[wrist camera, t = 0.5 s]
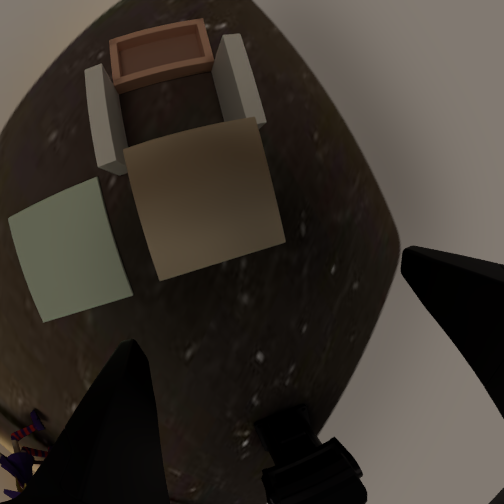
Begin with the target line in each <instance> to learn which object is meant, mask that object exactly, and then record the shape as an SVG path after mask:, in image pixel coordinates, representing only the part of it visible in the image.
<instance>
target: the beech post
mask: <svg viewBox="0 0 504 504" xmlns="http://www.w3.org/2000/svg"><path fill="white" fill-rule="evenodd" d="M123 153H124V158H125V162H126V167H127V171H128V175H129V180H130V184H131V188H132V192H133V196H134V199H135V203H136V207H137V210H138V214H139V218H140V221H141V225H142V228H143V231H144V235H145V238H146V241H147V244H148V248H149V251H150V254H151V257H152V260H153V263H154V266H155V269H156V272H157V275H158V278H159V281H162V280H166V279H169V278H172V277H175V276H178V275H182V274H185V273H188V272H191V271H195V270H198V269H201V268H204V267H208V266H211V265H214V264H217V263H221V262H224V261H227V260H230V259H233V258H237V257H240V256H243V255H246V254H250V253H253V252H256V251H259V250H263V249H266V248H269V247H272V246H275V245H279V244H282V243H285V242H286V240H285V236H284V231H283V227H282V223H281V218H280V214H279V210H278V205H277V201H276V197H275V193H274V188H273V184H272V180H271V176H270V172H269V168H268V164H267V160H266V156H265V152H264V148H263V145H262V141H261V137H260V133H259V129H258V126H257V122H256V118H255V117H249V118H243V119H237V120H232V121H227V122H222V123H217V124H212V125H208V126H203V127H199V128H195V129H191V130H186V131H183V132H179V133H175V134H171V135H168V136H164V137H161V138H157V139H154V140H150V141H147V142H144V143H141V144H138V145H135V146H132V147H129V148H126V149H123Z"/></svg>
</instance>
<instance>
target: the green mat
mask: <svg viewBox="0 0 504 504" xmlns="http://www.w3.org/2000/svg"><path fill="white" fill-rule="evenodd" d="M8 221H9V225H10V229H11V233H12V237H13V241H14V244H15V248H16V251H17V255H18V258H19V261H20V264H21V267H22V270H23V273H24V276H25V279H26V282H27V284H28V287H29V290H30V292H31V295H32V297H33V300H34V302H35V304H36V307H37V309H38V311H39V314H40V316H41V318H42V320H43V322H46V321H50V320H53V319H56V318H60V317H63V316H67V315H70V314H73V313H77V312H80V311H83V310H87V309H90V308H93V307H96V306H100V305H103V304H106V303H110V302H113V301H116V300H120V299H123V298H126V297H129V296H133V294H134V293H133V291H132V288H131V285H130V283H129V280H128V277H127V274H126V272H125V269H124V266H123V263H122V260H121V257H120V254H119V251H118V248H117V245H116V242H115V238H114V235H113V232H112V229H111V225H110V222H109V218H108V214H107V211H106V207H105V203H104V199H103V195H102V191H101V187H100V183H99V178H98V177H95V178H93V179H90V180H88V181H85V182H83V183H80V184H78V185H75V186H73V187H71V188H68V189H66V190H64V191H62V192H59V193H57V194H55V195H53V196H51V197H49V198H46V199H44V200H42V201H40V202H38V203H36V204H34V205H32V206H30V207H28V208H26V209H24V210H22V211H21V212H19V213H17V214H15V215H13V216H11V217H9V218H8Z"/></svg>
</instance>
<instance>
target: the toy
mask: <svg viewBox="0 0 504 504" xmlns="http://www.w3.org/2000/svg"><path fill="white" fill-rule="evenodd" d="M31 418H32V421H33V423H34V424H32V425H30V426H28V427H26V428H23V429H21V430H19V431H16V432H14V433H12V434H11V439H12V444H13V449H14V453H13V454H11V455H10V456H8V457H5V456H4V455H3V454H1V453H0V464H2V465H1V467H3V468H4V469H5V470H7V471H8V472H9V473H11V474H12V475H13V476H14V477H15V478H16V486H17V490H18V491H17V492H16V491H11V490H6V489H4V494H6V495H7V496H9V497H10V498H12V499H13V498H15V497H17V496H18V495H19V494H20V493H21V492H22V491H23V490H24V489H25V487H26V486H27V484H28V483H29V481H30V480H31V478H32V477H33V473H32V466H33V464H42V462H43V461H35V460H34V459H35V458H34V457H33V456H39V457H45V458H46V456H47V455H48V453H49V452H50V450H51V449H52V447H53V446H49V448H48V452H46V451H41V450H36V449H32V448H28V447H22V449H21V450H20V447H19V444H18V441H19V440H20V439H22V438H23V437H25V436H27V435H28V434H30V433H32V432H33V431H35V430H38V431H40V430H44V429H45V427H44V425H43V424H42V422H41V421H40V418H39V417H38V415H37V413H36V412H35V410H33V411H32V412H31ZM32 455H33V456H32ZM21 487H22V488H23V489H22V488H21Z"/></svg>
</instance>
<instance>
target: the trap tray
mask: <svg viewBox="0 0 504 504" xmlns="http://www.w3.org/2000/svg"><path fill="white" fill-rule="evenodd" d="M109 44H110V56H111V66H112V75H113V83H114V87H115V89H116V91H117V92H118V94H122V93H125V92H128V91H132V90H135V89H138V88H141V87H145V86H148V85H152V84H156V83H159V82H163V81H167V80H172V79H176V78H180V77H185V76H190V75H195V74H200V73H206V72H211V71H212V67H213V64H214V58H213V54H212V50H211V47H210V43H209V39H208V36H207V32H206V28H205V25H204V21H203V19H195V20H189V21H183V22H177V23H172V24H167V25H162V26H158V27H153V28H149V29H145V30H141V31H138V32H134V33H131V34H127V35H124V36H121V37H118V38H115V39H112V40H109Z"/></svg>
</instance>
